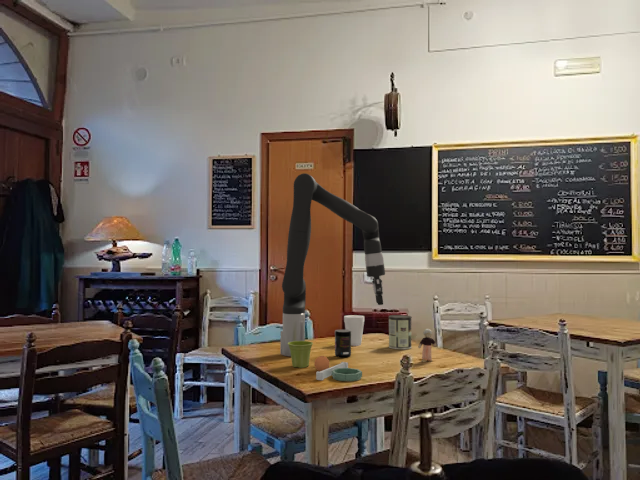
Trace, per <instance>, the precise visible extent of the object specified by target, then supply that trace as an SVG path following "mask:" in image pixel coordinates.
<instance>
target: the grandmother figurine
mask: <svg viewBox="0 0 640 480" xmlns="http://www.w3.org/2000/svg"><path fill="white" fill-rule="evenodd" d="M422 334H423V335H424V337H423V338H422V339H421V340H420V342H419V344H418V347H417V348H418V349H421V347H422V353H421V362H423V363H427V362H429V363H431V362H433V359H432V345H433V347H434V348H436V347H437V344H436V341H435V339H433V338H432V337H431V336H432V334H433V331H432V330H431V329H430V328H425V329H424V330H423V333H422ZM422 345H423V346H422Z"/></svg>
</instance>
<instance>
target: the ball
mask: <svg viewBox="0 0 640 480" xmlns="http://www.w3.org/2000/svg"><path fill="white" fill-rule="evenodd" d="M313 365H314V367H315V369H316V370H317V371H318V372H320V371H323V370H325V369H328V368H330V360H329V359H328V357H327V356H324V355H319V356H317V357H316V358H315V359H314V364H313Z"/></svg>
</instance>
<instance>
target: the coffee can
mask: <svg viewBox="0 0 640 480" xmlns="http://www.w3.org/2000/svg"><path fill="white" fill-rule="evenodd" d="M388 348H389V349H392V350H409V349H413V347H412V316H411V315H404V314H391V315H388Z"/></svg>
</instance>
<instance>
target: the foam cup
mask: <svg viewBox="0 0 640 480" xmlns="http://www.w3.org/2000/svg"><path fill="white" fill-rule="evenodd" d="M343 322H344V330H351V347H353V346H355V347H356V346H357V347H359V346H362V339H363V332H364V325H365V315H360V314H359V315H357V314H354V315H352V314H350V315H344V316H343Z"/></svg>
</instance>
